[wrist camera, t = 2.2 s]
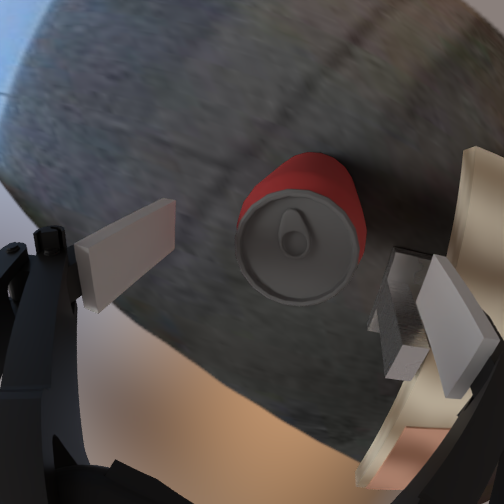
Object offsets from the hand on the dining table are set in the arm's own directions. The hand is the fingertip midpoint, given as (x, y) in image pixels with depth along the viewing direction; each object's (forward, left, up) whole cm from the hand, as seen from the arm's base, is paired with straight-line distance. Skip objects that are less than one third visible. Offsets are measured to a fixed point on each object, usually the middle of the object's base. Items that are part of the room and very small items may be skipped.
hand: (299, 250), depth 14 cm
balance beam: (+7, +16, -4) cm, 18 cm away
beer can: (0, 0, -11) cm, 11 cm away
